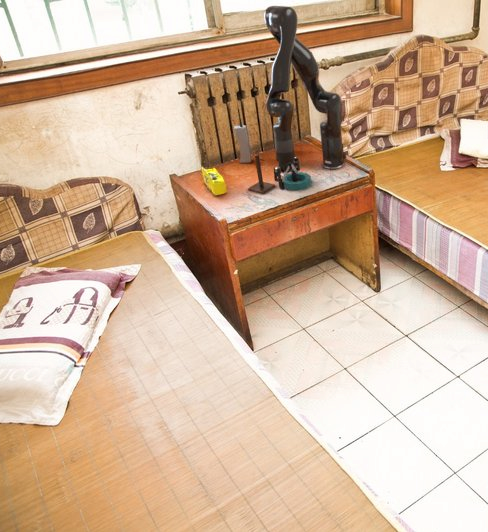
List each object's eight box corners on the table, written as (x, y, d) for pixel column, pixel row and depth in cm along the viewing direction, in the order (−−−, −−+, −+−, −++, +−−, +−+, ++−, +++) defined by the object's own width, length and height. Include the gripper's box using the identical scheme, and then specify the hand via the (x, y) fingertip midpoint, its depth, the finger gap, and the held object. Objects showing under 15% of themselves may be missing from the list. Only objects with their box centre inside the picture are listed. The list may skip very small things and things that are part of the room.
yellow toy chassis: (203, 184, 236) (199, 165, 231) (216, 180, 238) (212, 163, 234) (214, 197, 224) (210, 178, 220) (227, 194, 227) (224, 175, 222)
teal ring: (294, 176, 240) (293, 170, 239) (316, 181, 236) (315, 175, 234) (277, 187, 232) (276, 180, 230) (300, 192, 227) (299, 186, 225)
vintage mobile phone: (241, 160, 257) (231, 107, 244) (251, 159, 258) (243, 107, 244) (240, 163, 254) (230, 110, 241) (250, 162, 255) (242, 109, 241)
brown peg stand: (260, 183, 235) (255, 150, 227) (275, 186, 232) (270, 153, 224) (248, 190, 230) (242, 156, 221) (263, 194, 226) (257, 160, 218)
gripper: (281, 156, 213) (285, 193, 222) (302, 144, 224) (306, 181, 233) (265, 153, 216) (271, 190, 225) (287, 141, 227) (292, 177, 236)
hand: (288, 185), depth 229 cm, fingers open, 8 cm apart
